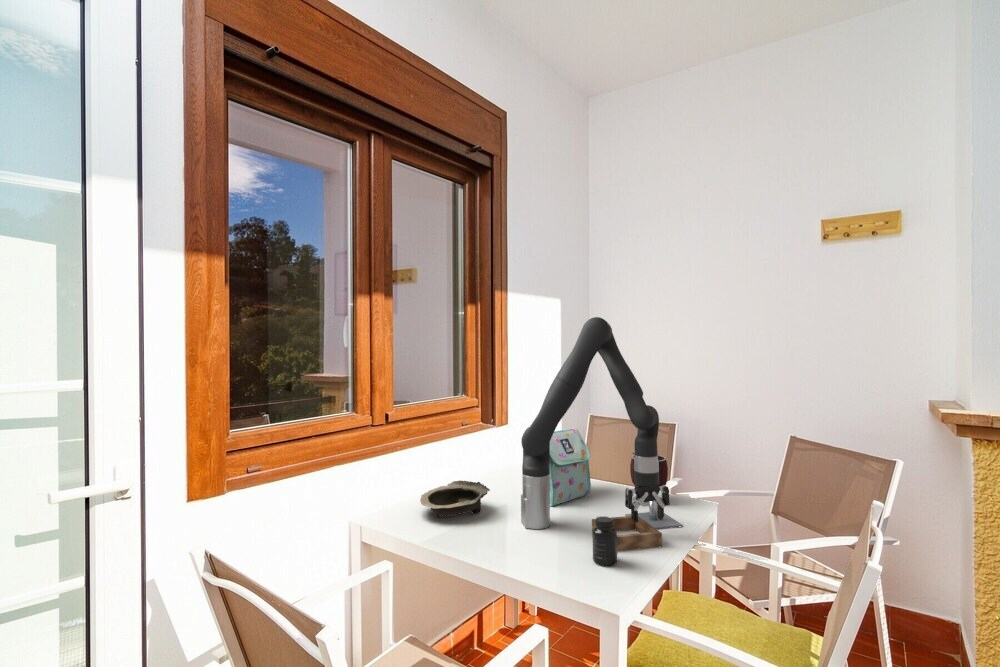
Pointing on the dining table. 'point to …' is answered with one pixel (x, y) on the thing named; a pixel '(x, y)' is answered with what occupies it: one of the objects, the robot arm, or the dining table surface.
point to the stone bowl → (455, 498)
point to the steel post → (653, 511)
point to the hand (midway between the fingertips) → (647, 520)
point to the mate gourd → (662, 473)
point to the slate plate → (659, 521)
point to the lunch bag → (568, 466)
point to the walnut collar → (634, 541)
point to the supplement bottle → (604, 542)
